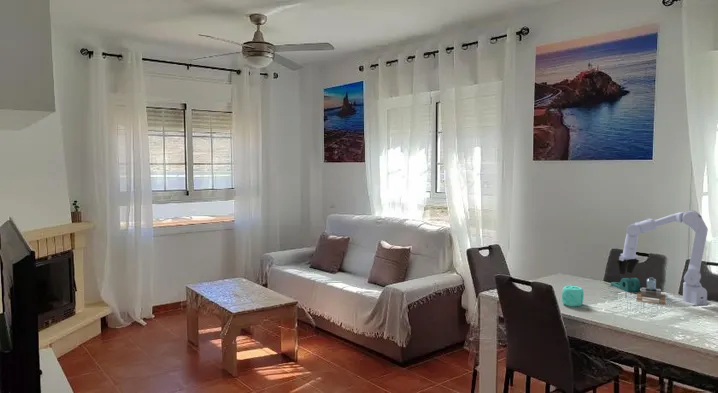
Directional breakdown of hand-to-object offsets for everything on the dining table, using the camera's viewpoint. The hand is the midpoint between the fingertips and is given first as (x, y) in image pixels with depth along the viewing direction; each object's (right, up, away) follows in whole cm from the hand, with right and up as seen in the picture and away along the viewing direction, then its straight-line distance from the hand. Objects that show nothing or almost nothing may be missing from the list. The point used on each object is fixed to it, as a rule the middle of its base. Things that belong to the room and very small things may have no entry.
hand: (625, 273), depth 260 cm
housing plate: (+7, -11, -10) cm, 17 cm away
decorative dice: (-35, -12, -18) cm, 41 cm away
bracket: (+4, -11, +10) cm, 15 cm away
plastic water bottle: (+10, -10, -5) cm, 15 cm away
